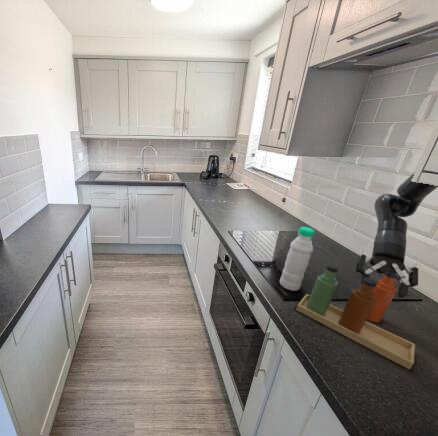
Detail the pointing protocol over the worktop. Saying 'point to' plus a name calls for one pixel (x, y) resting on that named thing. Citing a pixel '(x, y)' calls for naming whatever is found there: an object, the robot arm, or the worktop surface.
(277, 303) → the worktop surface
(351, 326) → the amber bottle
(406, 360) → the tray
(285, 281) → the water bottle
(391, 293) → the terracotta bottle
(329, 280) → the sage bottle
